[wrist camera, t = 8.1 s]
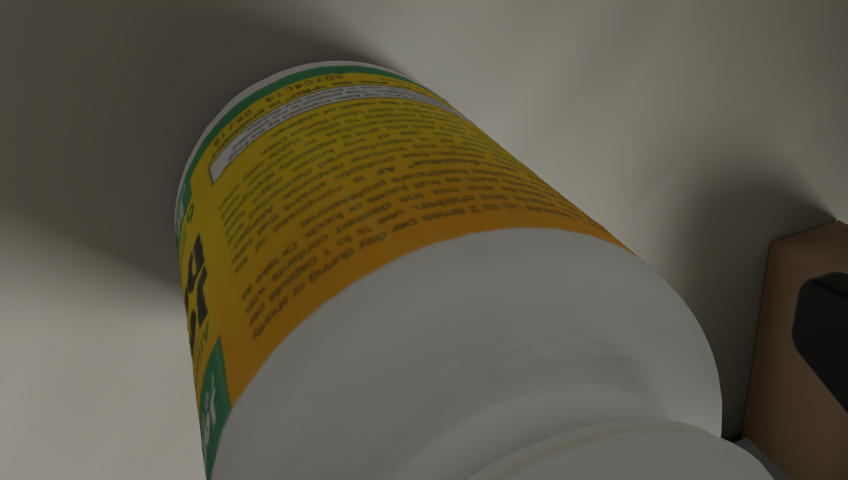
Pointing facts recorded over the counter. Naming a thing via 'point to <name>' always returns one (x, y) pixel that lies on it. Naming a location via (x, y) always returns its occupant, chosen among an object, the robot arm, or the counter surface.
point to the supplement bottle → (422, 304)
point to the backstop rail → (796, 366)
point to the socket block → (762, 459)
